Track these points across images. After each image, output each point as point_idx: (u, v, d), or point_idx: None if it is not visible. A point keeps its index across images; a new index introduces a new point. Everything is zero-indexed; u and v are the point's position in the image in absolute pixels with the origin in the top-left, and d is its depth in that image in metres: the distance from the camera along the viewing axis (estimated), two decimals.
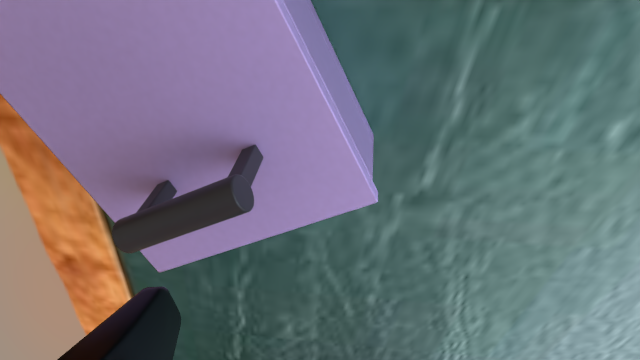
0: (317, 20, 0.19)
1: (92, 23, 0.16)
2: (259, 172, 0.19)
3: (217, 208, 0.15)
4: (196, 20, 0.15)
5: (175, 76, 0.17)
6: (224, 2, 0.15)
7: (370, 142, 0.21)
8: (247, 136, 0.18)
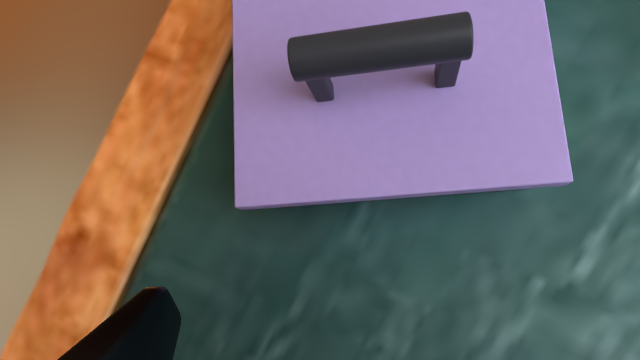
0: None
1: None
2: (440, 102, 0.16)
3: (443, 24, 0.13)
4: None
5: None
6: None
7: None
8: None
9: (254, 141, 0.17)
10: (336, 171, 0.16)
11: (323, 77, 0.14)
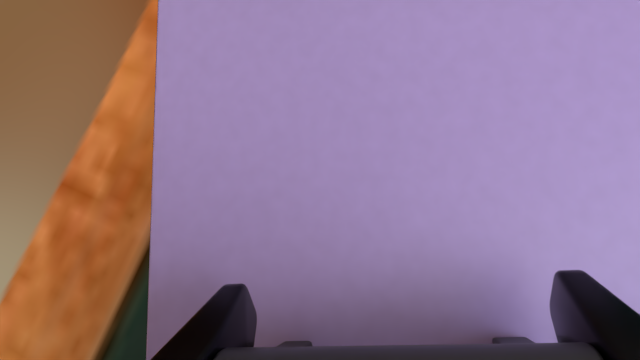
0: None
1: (360, 61, 0.11)
2: None
3: None
4: (521, 103, 0.10)
5: (440, 168, 0.10)
6: (582, 93, 0.10)
7: None
8: (516, 315, 0.09)
9: None
10: None
11: None
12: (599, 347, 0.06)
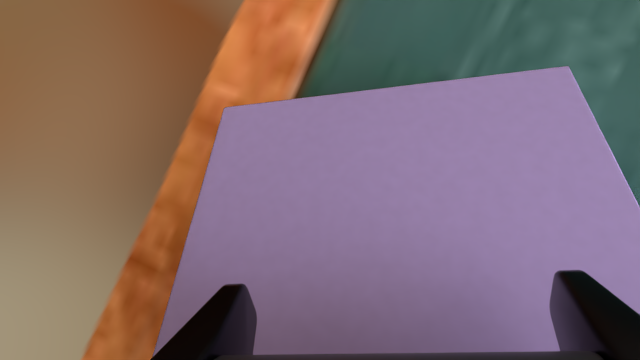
0: None
1: (375, 176, 0.13)
2: None
3: None
4: (514, 210, 0.11)
5: (444, 259, 0.11)
6: (567, 204, 0.11)
7: None
8: None
9: None
10: None
11: None
12: (599, 347, 0.06)
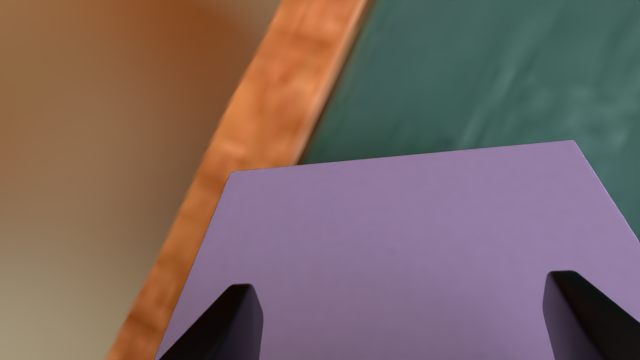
0: None
1: (379, 240, 0.13)
2: None
3: None
4: (527, 277, 0.11)
5: (453, 328, 0.10)
6: (583, 273, 0.11)
7: None
8: None
9: None
10: None
11: None
12: (589, 347, 0.06)
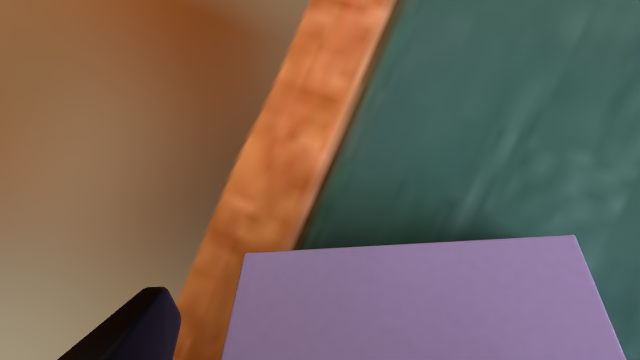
0: None
1: (392, 352, 0.14)
2: None
3: None
4: None
5: None
6: None
7: None
8: None
9: None
10: None
11: None
12: None
